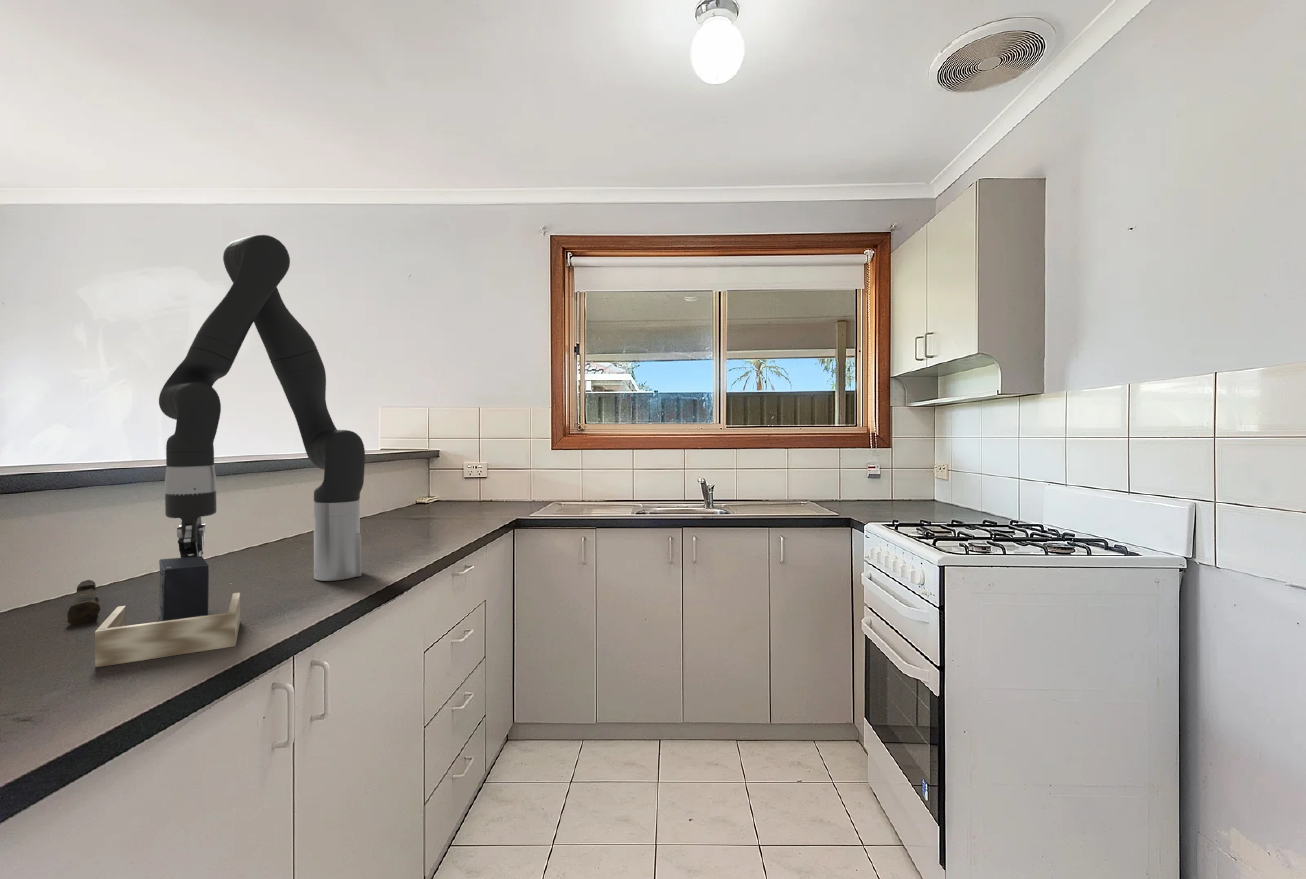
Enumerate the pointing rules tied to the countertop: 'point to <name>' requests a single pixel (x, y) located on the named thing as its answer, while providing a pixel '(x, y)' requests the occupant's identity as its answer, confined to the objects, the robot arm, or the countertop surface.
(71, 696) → the countertop surface
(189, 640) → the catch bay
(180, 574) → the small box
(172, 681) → the countertop surface
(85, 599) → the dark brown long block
